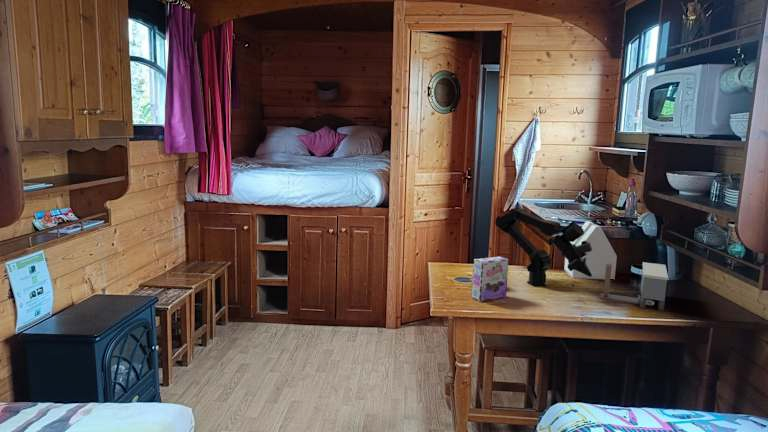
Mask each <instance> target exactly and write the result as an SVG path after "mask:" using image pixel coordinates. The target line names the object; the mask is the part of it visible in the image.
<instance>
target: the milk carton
mask: <svg viewBox="0 0 768 432" xmlns="http://www.w3.org/2000/svg"><path fill="white" fill-rule="evenodd" d="M581 227H582V229H583V231H584V234H583V235H582V236H580V237H579V238H578V239H576V240H575V241H573V242H571V241H570V242H571V243H572V245H573V244H575V245H576V246H579V245H581V243H582V241H586V242H590V244H591V247H592V251H590V252H586V253H587V255H586V256H583V257H582V258H583V259H584V258H586V264H587V266H588V268H589V270H590V272H591V274H592V276H591V277H589V276H587V275H585V274H583V273H581V272H579V271H577V270H574V269H573V270H572V271H570V270H569V269H568V264H569V263H568V260H567V259H566V257H565V256H564V269H563V270H564V271H565V272H566V273H567V274H568V275H569V276H570V277H571V278H573V279H588V280H590V279H591V280H605V274H606V265H607V264H611V265H612V269H611V279H614V280H615V277H616V267H617V258H618V257H617V254H616V252H615V250H614V249H613V246H612V244H611V243H610V241H609V239H608V238H607V236H606V234H605V232H604V230H603V229H602V227H601V226H600V225H598V224H595V222H593V221H591V220H590V221H589V220H586V221H585V222H584V224H583V225H582V226H581Z"/></svg>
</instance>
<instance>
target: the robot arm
mask: <svg viewBox="0 0 768 432" xmlns="http://www.w3.org/2000/svg"><path fill="white" fill-rule="evenodd" d="M517 221H521V222H523V223H525V224H528V225H530V226H532V227H535V228H537V229H538V230H539V231H540V232H541V233H542V234H544V235H545V236H547V237H550V238H548V246H552V245H554V246H555V248H557V250H558V251H559V252H560V253H561V256H563V257H564V258H565V257H566V259H567V260H568V263H569V264H568V269H569V270H570V271H572V270H573V269H574V270H577V271H579V272H581V273H583V274H585V275H587V276H589V277H591V276H592V274H591V272H590V270H589V268H588V266H587V264H586V258H584V259H583V258H582V257H583V256H586V255H587V253H586V252H590V251H592V247H591V244H590V242H586V241H582V243H581V245H579V246H576V245H575V244H573V245H572V243H571V242H573V241H575V240H576V239H578V238H579V237H580V236H582V235H583V234H584V231H583V229H582V226H580V225H579V224H578V223H576V222H575V221H571V222H570V223H568V225H566V226H564V225H561V223H560V222H558V221H555V220H548V219H543V218H541V217H538V216H536V215H534V214H531V213H529V212H526V211H524V210H523V209H521V208H519V209H513V210H512V211H511V212H508V213H506V214H503V215H498V216H497V217H496V218H495V226H496V227H497V228H498V229H499V230H500V231H502V232H505V233H507V234H508V235H509V236H510V237H511V238H512V239H513V240H514V242H516V244H517V245H518V246H519V247H520V248H521V249H522V250H523V252H525V253H526V254H527V256H528V259H529V262H530V264H529V265H528V264H527V266H526V269H527V272H529V275H528V280H527V281H526V283H527V284H529V285H530V286H532V287H546V286H547V284H546V280H547V274H546V273H547V271H548V269H549V268H550V267H551V266H552V261H553V260H552V258H551V254H549V253H548V252H547V251H546V250H545V249H544V248H543V249H538V248H537V247H536V246H535V245H534V244H533V243H532V242H531V241H530V240H529V238H527V237H526V235H525V234H524V233H523V232H522V231H521V230H520V229H519V228H518V227H517ZM560 234H561V235H560ZM552 236H554V237H552ZM570 241H571V242H570Z"/></svg>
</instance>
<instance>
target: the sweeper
mask: <svg viewBox="0 0 768 432" xmlns="http://www.w3.org/2000/svg"><path fill="white" fill-rule="evenodd" d="M611 269H612V265H611V264H607V265H606V274H605V279H604V286H603V292H601V293H600V297H599V299H601V300H607V301H614V302H622V303H628V304H632V305H633V304H634V305H639V306H640V301H641V297H642V296H641V294H638V295H637V297H632V296H625V295H620V294H619V295H618V294H611V293H610V288H611V287H610V286H611V280H610V279H611Z"/></svg>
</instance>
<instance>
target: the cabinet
mask: <svg viewBox="0 0 768 432" xmlns="http://www.w3.org/2000/svg"><path fill="white" fill-rule="evenodd" d="M668 281H669V276H668V271H667V266H666V264H661V263H655V262H654V263H652V262H646V261H645V262H644V261H642V274H641V281H640V282H641V283H640V286H639V295H641V301H640V305H639V308H643V309H646V306H647V305H646V300H652V301H653V300H655V301H658V307H657V310H658V311H661V312H663V311H665V302H666V300H665V299H666V291H667V284H668Z"/></svg>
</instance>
